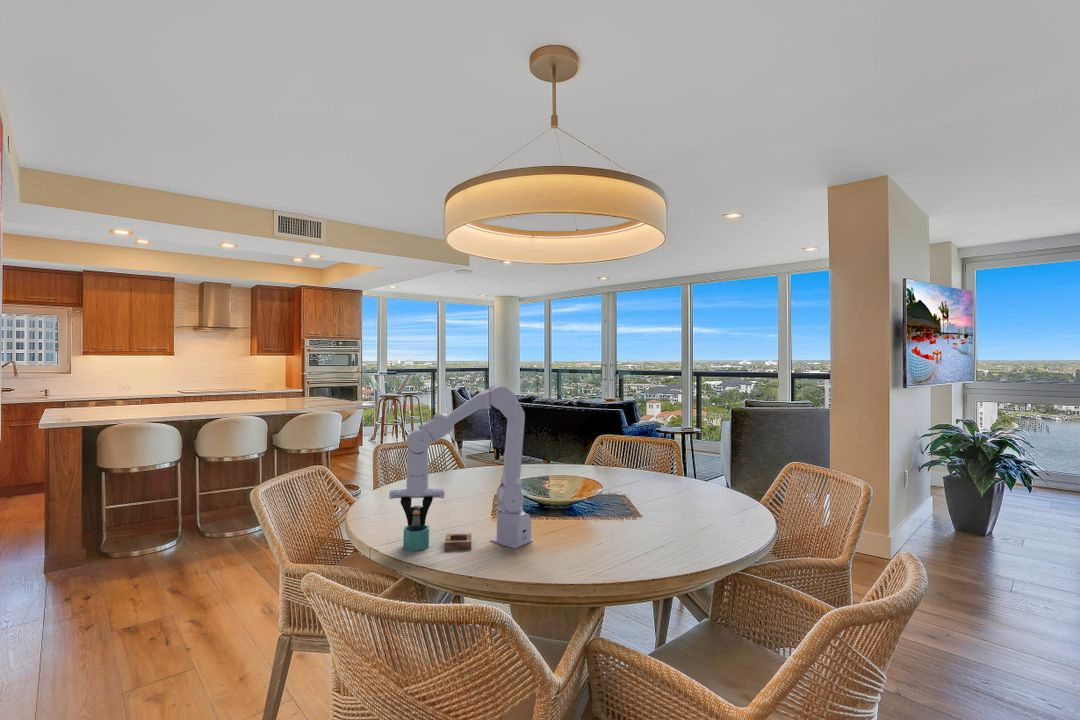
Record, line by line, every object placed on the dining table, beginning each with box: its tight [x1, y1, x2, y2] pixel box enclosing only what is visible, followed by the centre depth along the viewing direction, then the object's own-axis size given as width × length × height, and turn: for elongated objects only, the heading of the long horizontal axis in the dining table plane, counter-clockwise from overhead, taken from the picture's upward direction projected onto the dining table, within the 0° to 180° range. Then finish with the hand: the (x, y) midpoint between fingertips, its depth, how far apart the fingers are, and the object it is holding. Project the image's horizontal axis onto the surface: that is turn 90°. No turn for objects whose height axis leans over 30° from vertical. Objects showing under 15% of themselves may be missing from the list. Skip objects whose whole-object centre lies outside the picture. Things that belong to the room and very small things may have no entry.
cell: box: [410, 505, 423, 531], centre depth 146 cm, size 3×3×8 cm
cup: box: [402, 524, 430, 552], centre depth 146 cm, size 7×7×5 cm
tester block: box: [444, 533, 472, 551], centre depth 147 cm, size 7×7×2 cm
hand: (416, 524), depth 146 cm, fingers closed on cell, 3 cm apart
